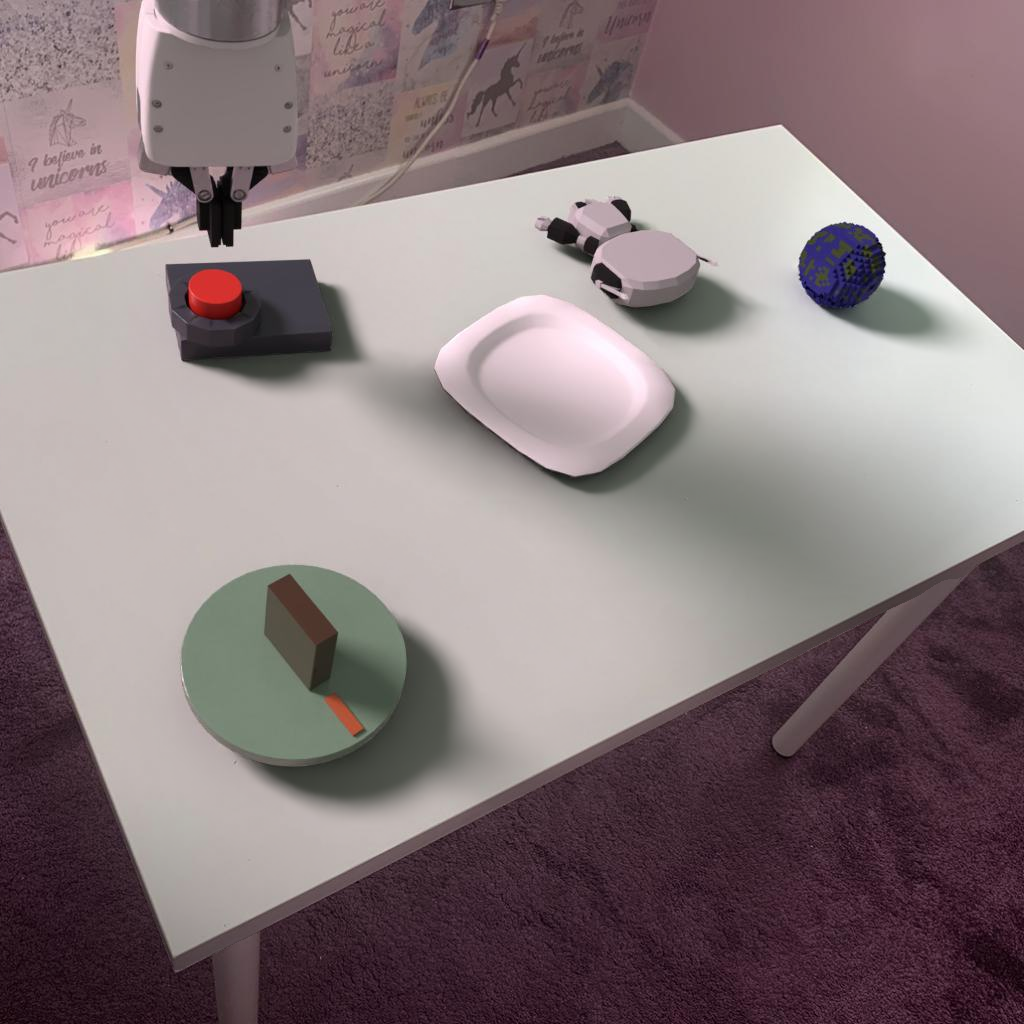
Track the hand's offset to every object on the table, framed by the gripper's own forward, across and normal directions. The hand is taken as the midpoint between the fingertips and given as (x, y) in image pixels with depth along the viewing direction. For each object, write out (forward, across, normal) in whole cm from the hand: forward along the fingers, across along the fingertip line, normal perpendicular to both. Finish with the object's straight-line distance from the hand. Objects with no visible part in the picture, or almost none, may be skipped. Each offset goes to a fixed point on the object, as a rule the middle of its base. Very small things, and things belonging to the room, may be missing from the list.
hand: (219, 234), depth 79 cm
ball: (+11, -61, -1) cm, 62 cm away
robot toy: (+11, -39, -6) cm, 40 cm away
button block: (+10, -3, -2) cm, 11 cm away
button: (+7, 0, 0) cm, 7 cm away
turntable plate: (+8, 0, +32) cm, 33 cm away
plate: (+11, -27, +9) cm, 30 cm away
